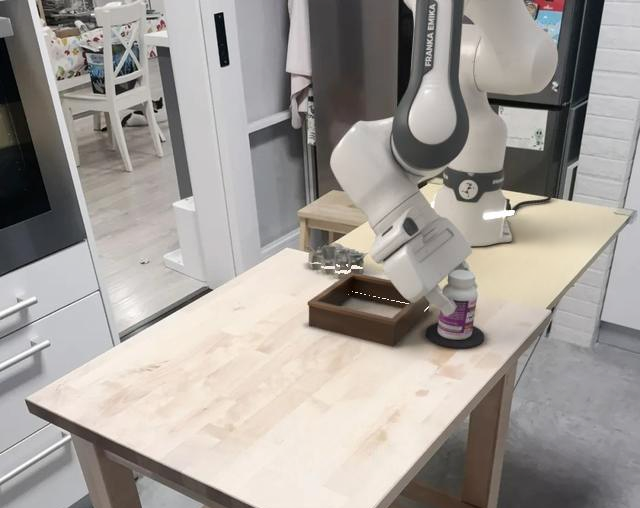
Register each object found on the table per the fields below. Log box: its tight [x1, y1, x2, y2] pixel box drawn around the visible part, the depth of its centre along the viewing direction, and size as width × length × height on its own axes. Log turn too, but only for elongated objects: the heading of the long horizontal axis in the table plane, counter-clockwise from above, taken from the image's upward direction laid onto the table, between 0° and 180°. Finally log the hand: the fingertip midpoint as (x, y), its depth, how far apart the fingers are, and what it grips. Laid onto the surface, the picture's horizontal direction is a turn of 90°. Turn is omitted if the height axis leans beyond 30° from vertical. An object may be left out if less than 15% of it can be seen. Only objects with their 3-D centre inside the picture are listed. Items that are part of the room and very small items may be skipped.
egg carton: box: [304, 242, 369, 280], centre depth 133 cm, size 11×8×4 cm
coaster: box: [425, 322, 485, 350], centre depth 111 cm, size 9×9×1 cm
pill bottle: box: [437, 270, 479, 340], centre depth 108 cm, size 5×5×10 cm
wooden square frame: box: [307, 272, 431, 347], centre depth 115 cm, size 15×15×4 cm
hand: (463, 301), depth 108 cm, fingers open, 8 cm apart
